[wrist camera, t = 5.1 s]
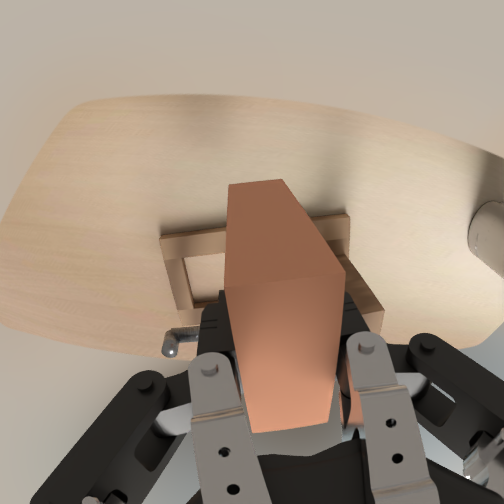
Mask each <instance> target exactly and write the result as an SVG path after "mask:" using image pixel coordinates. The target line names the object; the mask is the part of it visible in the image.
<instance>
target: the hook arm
mask: <svg viewBox="0 0 504 504" xmlns="http://www.w3.org/2000/svg"><path fill="white" fill-rule="evenodd" d="M199 330H200V326H194V327H182V328H171V330H169V331H167V332H166V333H165V337H164V342H163V346H162V354H163V355H164V356H166V357H169V358H173V357H175V356H176V355H177V352H178V346H179V343H184V342H197V341H198V339H199Z"/></svg>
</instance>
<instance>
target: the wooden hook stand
mask: <svg viewBox="0 0 504 504" xmlns="http://www.w3.org/2000/svg"><path fill="white" fill-rule="evenodd" d="M309 218H310V219H311V221H312V222H313V223H314V225H315V226H316V228H317V229H318V231H319V232H320V234H321V235H322V237H323V238H324V240H325V241H326V243H327V244H328V246H329V247H330V249H331V250H332V252H333V253H334V255H335V256H336V258H337V259H338V261H339V262H340V264H341V265H342V267H343V269H344V270H345V272H346V277H345V291H346V292H348V293H349V294H350V295H351V297H352V299H353V301H354V303H355V304H356V306H357V308H358V310H359V311H360V313H361V315H362V317H363V318H364V320H365V322H366V324H367V326H368V327H369V329H370V331H371V332H373V333H376V334H378V335H380V332H381V327H382V322H383V317H384V312H385V310H384V308H383V307H382V305H381V304H380V302H379V301H378V299H377V298H376V297H375V295H374V294H373V292H372V291H371V289H370V288H369V287H368V285H367V284H366V282H365V281H364V280H363V278H362V277H361V275H360V274H359V273H358V271H357V270H356V268H355V267H354V266H353V264H352V263H351V262H350V260H349V240H350V217H349V216H348V215H347V214H338V215H328V216H318V217H309ZM159 241H160V246H161V250H162V254H163V258H164V262H165V266H166V270H167V274H168V277H169V281H170V285H171V289H172V292H173V296H174V299H175V303H176V306H177V310H178V313H179V317H180V320H181V323H182V326H187V325H198V324H200V323H201V314H202V311H203V310H204V308H205V307H206V305H207V304H210V303H218V302H219V301H211V302H201V303H194V300H193V296H192V292H191V288H190V284H189V279H188V275H187V271H186V266H185V262H184V258H185V257H194V256H202V255H210V254H218V253H225V249H226V227H221V228H213V229H205V230H197V231H190V232H182V233H175V234H167V235H161V237H160V239H159Z"/></svg>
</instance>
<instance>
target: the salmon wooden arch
mask: <svg viewBox="0 0 504 504" xmlns="http://www.w3.org/2000/svg"><path fill="white" fill-rule="evenodd" d="M345 277H346V272H345V270H344V269H343V267H342V265H341V264H340V262H339V261H338V259H337V258H336V256H335V255H334V253H333V252H332V250H331V249H330V247H329V246H328V244H327V243H326V241H325V240H324V238H323V237H322V235H321V234H320V232H319V231H318V229H317V228H316V226H315V225H314V223H313V222H312V221H311V219H310V218H309V216H308V215H307V213H306V212H305V210H304V209H303V208H302V206H301V205H300V203H299V202H298V201H297V199H296V198H295V196H294V195H293V194H292V192H291V191H290V189H289V188H288V187H287V185H286V184H285V182H284V181H283V180H282V179H277V180H267V181H257V182H248V183H239V184H230V185H229V188H228V207H227V227H226V249H225V273H224V290H225V296H226V302H227V307H228V313H229V318H230V324H231V329H232V334H233V340H234V345H235V350H236V355H237V361H238V366H239V371H240V376H241V381H242V386H243V391H244V395H245V400H246V405H247V410H248V415H249V419H250V424H251V428H252V433H258V432H267V431H276V430H283V429H291V428H297V427H304V426H310V425H315V424H321V423H326V422H328V418H329V412H330V406H331V400H332V394H333V388H334V381H335V374H336V367H337V359H338V352H339V343H340V334H341V325H342V315H343V304H344V291H345Z"/></svg>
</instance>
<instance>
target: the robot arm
mask: <svg viewBox="0 0 504 504" xmlns="http://www.w3.org/2000/svg"><path fill="white" fill-rule="evenodd" d="M468 244H469V248H470V251H471V252H472V253H473V254H474V255H475V256H476V257H478V258H479V259H480V260H481V261H483V262H484V263H485V264H486V265H488V266H489V267H490V268H491V269H492V270H494V271H495V272H496V273H497V274H498V275H499V276H501V277H502V278H503V279H504V202H502V203H497V202H495V201H491V202H487V203H486V204H484V205H483V206H482V207H481V208H480V209H479V210H478V211H477V213H476V215H475V216H474V218H473V220H472V223H471V226H470V229H469V235H468ZM337 380H338V383H339V385H340V388H339V404H340V413H341V425H342V443H340V444H337V445H336V446H333V447H331V448H329V449H327V450H324V451H322V452H320V453H317V454H315V455H312V456H290V455H277V454H269V455H260V456H257V455H256V451H255V448H254V445H253V441H252V438H251V435H250V431H249V428H248V425H247V421H246V417H245V414H244V411H243V408H242V405H241V394H244V391H243V386H242V381H241V376H240V371H239V366H238V361H237V355H236V350H235V345H234V340H233V334H232V329H231V324H230V318H229V313H228V307H227V302H226V296H225V290H219V302H218V303H210V304H207V305H206V307H205V308H204V310H203V311H202V314H201V323H200V330H199V339H198V348H197V356H196V358H194V359H193V360H192V361H191V363H190V364H189V367H188V370H186V371H185V372H183V373H181V374H177V375H174V376H171V377H167V378H164V377H163V376H162V374H160V373H159V372H156V371H151V370H147V371H142V372H139V373H137V374H135V375H134V376H132V377H131V378H130V379H129V380H128V382H127V383H126V384H125V385H124V386H123V388H122V389H121V390H120V391H119V392H118V394H117V395H116V396H115V397H114V398H113V399H112V401H111V402H110V403H109V404H108V406H107V407H106V408H105V409H104V410H103V411H102V413H101V414H100V415H99V416H98V417H97V419H96V420H95V421H94V422H93V424H92V425H91V426H90V427H89V428H88V430H87V431H86V432H85V433H84V435H83V436H82V437H81V438H80V439H79V441H78V442H77V443H76V444H75V445H74V447H73V448H72V449H71V450H70V451H69V453H68V454H67V455H66V456H65V457H64V459H63V460H62V461H61V463H60V464H59V465H58V466H57V467H56V469H55V470H54V471H53V472H52V473H51V475H50V476H49V477H48V478H47V480H46V481H45V482H44V483H43V485H42V486H41V487H40V488H39V490H38V491H37V492H36V493H35V494H34V496H33V497H32V499H31V501H30V504H142V502H143V501H144V499H145V498H146V496H147V495H148V493H149V492H150V490H151V489H152V487H153V486H154V484H155V483H156V481H157V480H158V478H159V476H160V475H161V473H162V472H163V470H164V469H165V467H166V466H167V464H168V463H169V461H170V459H171V458H172V456H173V455H174V453H175V452H176V450H177V448H178V447H179V445H180V444H181V442H182V440H183V439H184V437H185V435H186V434H187V432H190V431H192V438H193V445H194V452H195V458H196V465H197V470H198V477H199V482H200V489H199V490H198V491H197V493H196V494H195V495H194V496H193V497H192V498H191V499H190V500H189V501H188V502H187V503H186V504H504V381H503V380H501V379H500V378H498V377H497V376H495V375H494V374H493V373H491V372H490V371H488V370H487V369H485V368H484V367H482V366H481V365H479V364H478V363H476V362H475V361H473V360H472V359H470V358H469V357H468V356H466V355H464V354H463V353H461V352H460V351H459V350H457V349H456V348H454V347H453V346H451V345H450V344H448V343H447V342H445V341H443V340H442V339H440V338H439V337H437V336H435V335H433V334H429V333H420V334H417V335H415V336H413V337H412V338H411V340H410V342H409V345H401V344H388V343H386V342H385V340H384V339H383V338H382V337H381V336H380V335H378V334H376V333H373V332H371V331H370V329H369V327H368V326H367V324H366V322H365V320H364V318H363V317H362V315H361V313H360V311H359V310H358V308H357V306H356V304H355V303H354V301H353V299H352V297H351V295H350V294H349V293H348V292H346V291H344V304H343V315H342V325H341V334H340V343H339V352H338V359H337V367H336V374H335V381H337ZM432 382H433V383H434V384H436V385H437V386H438V387H439V388H441V389H442V390H443V391H445V392H446V393H447V394H449V395H450V396H451V397H453V399H454V400H455V403H454V402H453V401H452V400H450V399H449V398H448V397H446V396H445V395H444V394H442V393H441V392H440V391H438V390H437V389H436V388H434V387H433V386H432V385H431V383H432ZM417 422H418V423H419V424H420V425H422V426H423V427H424V428H425V429H426V430H428V431H429V432H430V433H431V434H432V435H434V436H435V437H436V438H437V439H438V440H440V441H441V442H442V443H443V444H444V445H446V446H447V447H448V448H449V449H450V450H452V451H453V452H454V453H455V454H457V455H458V456H459V457H460V458H461V459H463V467H464V469H463V475H464V476H465V477H466V478H465V477H463V476H461V475H459V474H457V473H455V472H453V471H451V470H449V469H447V468H445V467H443V466H441V465H439V464H437V463H435V462H433V461H432V460H430V459H428V458H426V457H425V452H424V448H423V443H422V439H421V435H420V431H419V427H418V423H417ZM467 478H470V479H471V480H469V479H467Z"/></svg>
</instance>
